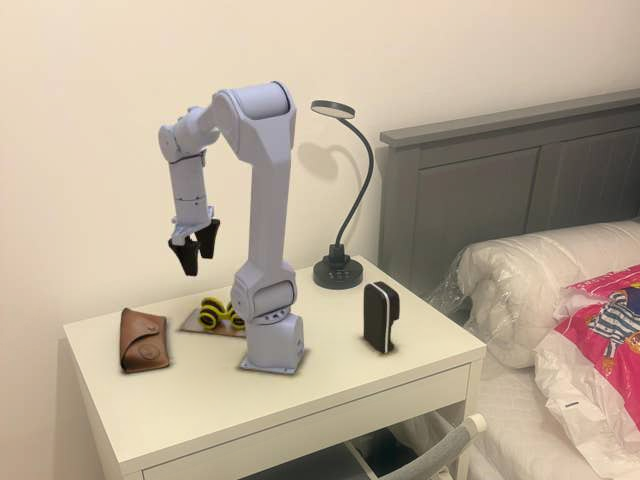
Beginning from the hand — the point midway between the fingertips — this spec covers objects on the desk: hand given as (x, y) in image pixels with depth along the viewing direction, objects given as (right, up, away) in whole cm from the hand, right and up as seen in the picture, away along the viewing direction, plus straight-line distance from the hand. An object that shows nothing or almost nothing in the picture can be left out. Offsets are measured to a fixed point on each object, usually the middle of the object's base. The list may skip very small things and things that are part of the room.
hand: (199, 266), depth 123 cm
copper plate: (+4, -11, +1) cm, 11 cm away
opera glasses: (+5, -11, +1) cm, 12 cm away
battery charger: (+33, -15, -6) cm, 37 cm away
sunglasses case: (-9, -15, -4) cm, 18 cm away
